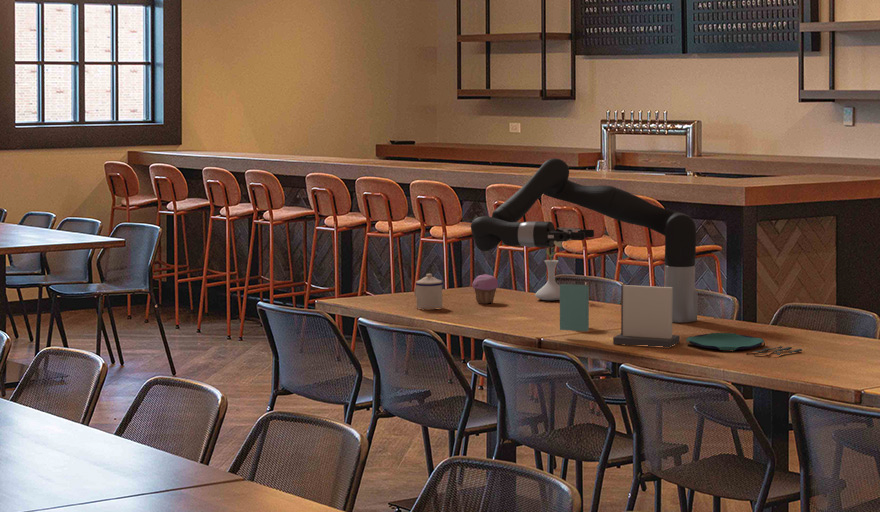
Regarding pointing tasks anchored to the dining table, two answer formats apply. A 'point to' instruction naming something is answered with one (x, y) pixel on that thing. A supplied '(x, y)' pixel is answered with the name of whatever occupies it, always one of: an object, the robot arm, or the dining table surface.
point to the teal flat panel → (574, 307)
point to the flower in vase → (550, 280)
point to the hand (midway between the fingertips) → (589, 234)
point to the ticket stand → (646, 316)
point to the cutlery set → (731, 342)
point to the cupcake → (485, 288)
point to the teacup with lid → (428, 292)
